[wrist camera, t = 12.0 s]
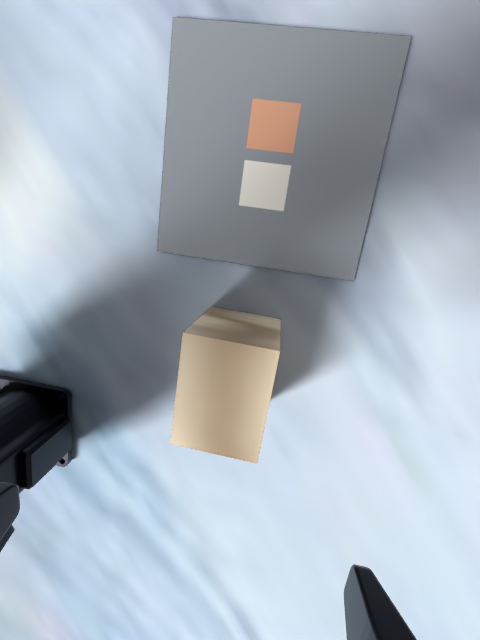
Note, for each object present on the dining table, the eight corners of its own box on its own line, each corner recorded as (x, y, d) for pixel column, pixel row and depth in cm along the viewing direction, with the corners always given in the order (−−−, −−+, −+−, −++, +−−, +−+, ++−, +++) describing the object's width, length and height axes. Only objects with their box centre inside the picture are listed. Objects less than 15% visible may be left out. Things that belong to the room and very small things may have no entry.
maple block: (200, 389, 22) (170, 443, 16) (211, 306, 20) (182, 332, 14) (264, 403, 21) (257, 463, 15) (280, 319, 20) (280, 351, 14)
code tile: (158, 251, 19) (157, 251, 19) (174, 19, 16) (172, 16, 16) (352, 280, 18) (353, 281, 18) (409, 38, 15) (411, 35, 15)
